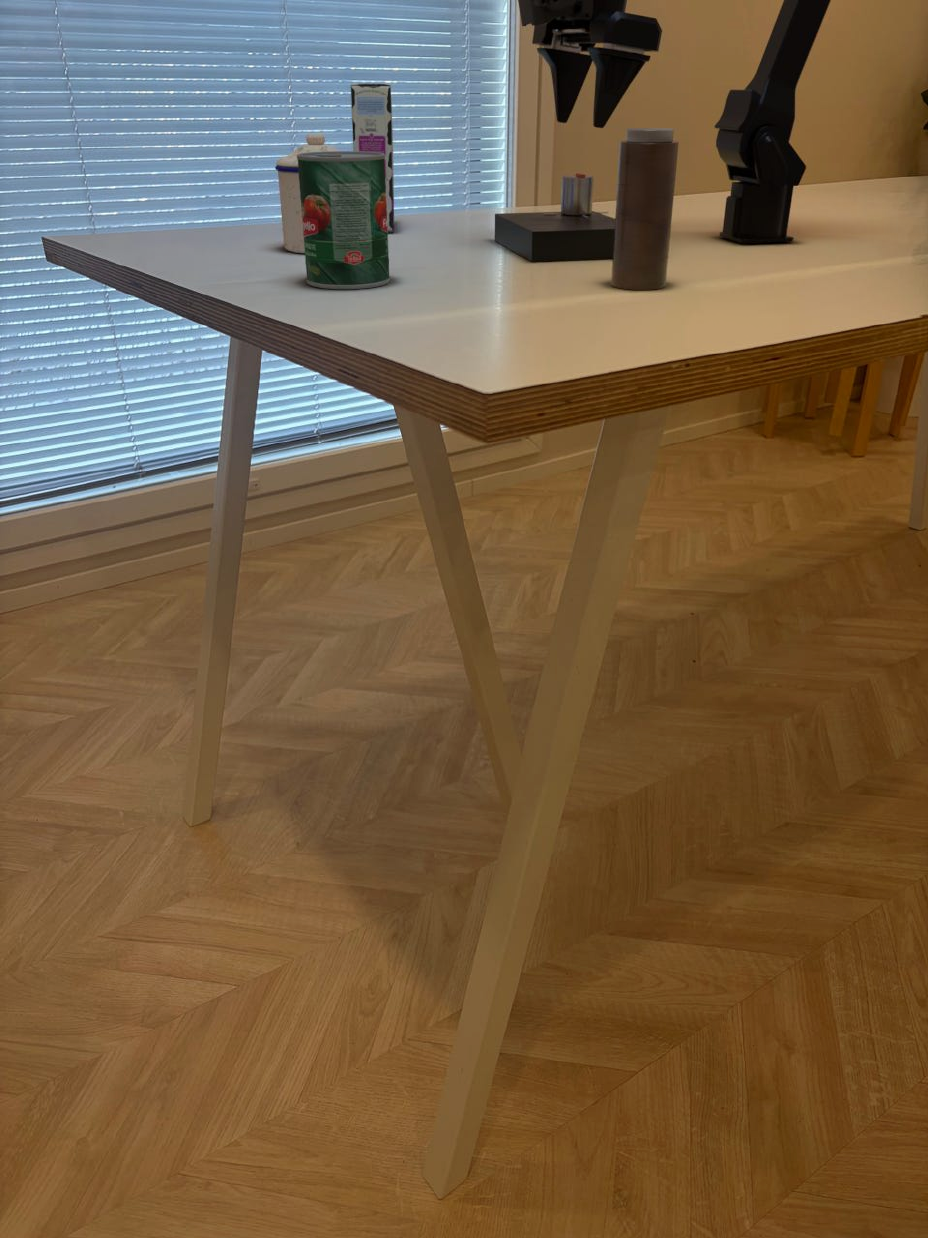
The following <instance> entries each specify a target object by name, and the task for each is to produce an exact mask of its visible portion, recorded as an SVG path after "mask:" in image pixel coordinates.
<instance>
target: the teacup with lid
mask: <svg viewBox="0 0 928 1238" xmlns="http://www.w3.org/2000/svg"><path fill="white" fill-rule="evenodd" d="M305 142H306V144H303V145H300V146H298V147H297V148H296V149H294V150H293V151H292V152H291V153H289V154H288V155H286V156H283V157H281V158H278V159H277V161H276V163H275V164H276V165H275V167H274V168H275V170H276V171H277V177H278V178H277V179H278V188H279V189H278V191H279V201H280V213H281V224H282V238H283V247H284V249H286V250H287V251H289V252H292V253H297V254H305V247H304V236H303V225H302V224H303V221H302V209H301V198H300V188H299V187H300V183H299V171H298V159H297V154H300V153H308V152H326V151H340V150H339V149H338V148H337V147H335V146H333V145H331V144H325V143H326V137H325V135H324V133H323V134H322V133H309V134H307V135H306V137H305Z"/></svg>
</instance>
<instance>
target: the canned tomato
mask: <svg viewBox="0 0 928 1238" xmlns="http://www.w3.org/2000/svg"><path fill="white" fill-rule="evenodd" d="M297 159H298V171H299V183H300V187H299V188H300V198H301V209H302V221H303V224H302V225H303V236H304V247H305V253H304V259H305V262H304V263H305V270H306V284H307V285H309V286H311V287H315V288H319V289H329V290H361V289H362V290H363V289H371V288H377V287H382V286H385V285H387V284H389V283H390V282H391V277H390V255H389V252H390V251H389V232H388V230H387V225H388V223H387V203H386V182H385V179H386V175H385V154H384V153H379V152H363V151H353V150H347V151H346V150H339V151H326V152H308V153H300V154H297Z"/></svg>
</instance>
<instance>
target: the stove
mask: <svg viewBox="0 0 928 1238" xmlns="http://www.w3.org/2000/svg"><path fill="white" fill-rule="evenodd" d="M609 213H610V212H609V211H595V210H594V211H593V210H592V214H590V215H582V216H571V215H563V214H561V211H540V212H539V211H538V212H537V211H536V212H535V211H534V212H505V213H504V212H503V213H494V241H495V242H496V243H498V244H500V245H501V246H503V247H504V248H507V249H508V250H510V251H511V252H513V253H515V254H516V255H519V256H520V257H522V258H524V259H525V260H527V261H529V262H531V263H542V262H543V263H544V262H565V261H567V262H568V261H569V262H570V261H590V260H613V246H614V231H615V217H611V216H608V215H607V214H609Z"/></svg>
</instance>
